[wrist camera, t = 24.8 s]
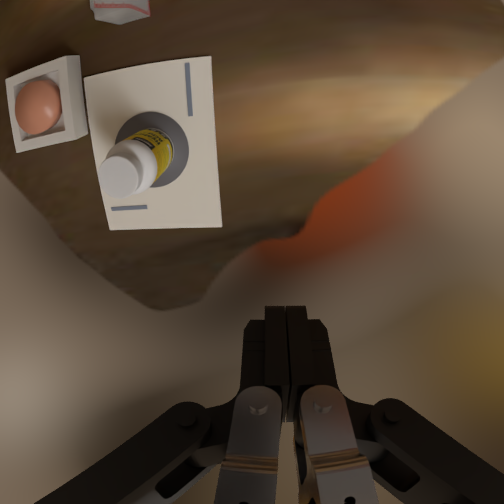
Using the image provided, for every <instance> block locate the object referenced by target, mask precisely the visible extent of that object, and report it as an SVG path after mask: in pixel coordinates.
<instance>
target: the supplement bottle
mask: <svg viewBox="0 0 504 504" xmlns="http://www.w3.org/2000/svg"><path fill="white" fill-rule="evenodd" d="M173 157H174V146H173V143H172V141H171V139H170V137H169V136H168V135H167V134H166V133H165V132H163V131H161V130H159V129H155V128H148V129H144V130H141V131H139V132H137V133H135V134H134V135H132V136H130V137H128V138H126V139H124V140H122V141H121V142H119V143H117V144H116V145H114V146H113V147H112V148H111V149H110V151H109V152H108V154H107V156H106V159H105V160H104V161H103V162H102V164H101V165H100V168H99V171H98V180H99V183H100V186H101V188H102V189H103V190H104V192H105V193H107V194H108V195H109V196H111V197H113V198H117V199H123V198H127V197H129V196H131V195H135V194H139V193H142V192H144V191H145V190H147V189H148V188H149V187H150V186H151V185H152V184H153V183H154V182H155V181H156V180H157V179H158V178H159V176H160V175H161V174H162V173H163V172H164V171H165V170H166V169H167V168H168V167H169V165H170V164H171V162H172V160H173Z"/></svg>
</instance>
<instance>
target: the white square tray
mask: <svg viewBox="0 0 504 504" xmlns="http://www.w3.org/2000/svg"><path fill="white" fill-rule="evenodd" d="M39 80H50V81H52V82H54V83H55V84H56V85H57V86H58V87H59V89H60V95H61V104H62V114H61V117H60V119H59V120H58V122H57V123H56V124H55V125H54V126H53V127H52V128H50V129H48V130H46V131H43V132H41V133H39V134H28V133H26V132H25V131H23V130H22V129H21V127H20V126H19V124H18V122H17V120H16V116H15V103H16V99H17V96H18V94H19V92H20V91H21V89H22V88H23V87H24V86H25V85H27V84H28V83H30V82H34V81H39ZM6 89H7V98H8V106H9V113H10V120H11V126H12V132H13V137H14V143H15V148H16V153H19V152H23V151H27V150H31V149H35V148H39V147H43V146H48V145H52V144H57V143H62V142H66V141H71V140H76V139H78V138H80V137H82V136H85V135H87V134H88V128H87V121H86V114H85V106H84V97H83V88H82V78H81V66H80V55H72V56H64V57H61V58H58V59H55V60H52V61H49V62H47V63H44V64H41V65H39V66H36V67H34V68H31V69H29V70H26V71H24V72H21V73H19V74H17V75H14V76H12V77H10V78H7V79H6Z"/></svg>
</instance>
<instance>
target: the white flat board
mask: <svg viewBox="0 0 504 504" xmlns="http://www.w3.org/2000/svg"><path fill="white" fill-rule="evenodd" d="M84 85H85V95H86V103H87V111H88V119H89V126H90V133H91V139H92V146H93V151H94V157H95V163H96V168H97V173H98V171H99V168H100V165H101V164H102V162H103V161H104V160H105V159H106V156H107V154H108V152H109V151H110V149H111V148H112V147H113V146H114V145H116V144H117V143H119V142H121V141H122V140H124V139H126V138H128V137H130V136H132V135H134V134H135V133H137V132H139V131H141V130H144V129H148V128H155V129H159V130H161V131H163V132H165V133H166V134H167V135H168V136H169V137H170V139H171V141H172V143H173V146H174V157H173V160H172V162H171V164H170V165H169V167H168V168H167V169H166V170H165V171H164V172H163V173H162V174H161V175H160V176H159V178H158V179H157V180H156V181H155V182H154V183H153V184H152V185H151V186H150V187H149V188H148V189H147V190H145V191H144V192H142V193H139V194H135V195H131V196H129V197H127V198H123V199H117V198H113V197H111V196H109V195H108V194H107V193H105V192H104V190H103V189H102V188H101V186H100V188H101V193H102V198H103V202H104V207H105V211H106V216H107V220H108V224H109V228H110V230H127V229H159V228H198V227H222V217H221V204H220V191H219V178H218V164H217V149H216V134H215V118H214V101H213V83H212V63H211V56H206V57H195V58H186V59H178V60H171V61H164V62H157V63H151V64H145V65H139V66H134V67H129V68H124V69H119V70H114V71H110V72H105V73H101V74H97V75H93V76H89V77H85V78H84ZM99 184H100V183H99Z"/></svg>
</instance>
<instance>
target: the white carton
mask: <svg viewBox="0 0 504 504" xmlns="http://www.w3.org/2000/svg"><path fill="white" fill-rule="evenodd" d="M90 8H91V9H92V10H93V12H94V15H95V20H100V21H105V22H110V23H114V24H119V25H121V24H124V23H127V22H130V21H134V20H137V19H141V18H145V17H148V16H150V6H149V0H90Z"/></svg>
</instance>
